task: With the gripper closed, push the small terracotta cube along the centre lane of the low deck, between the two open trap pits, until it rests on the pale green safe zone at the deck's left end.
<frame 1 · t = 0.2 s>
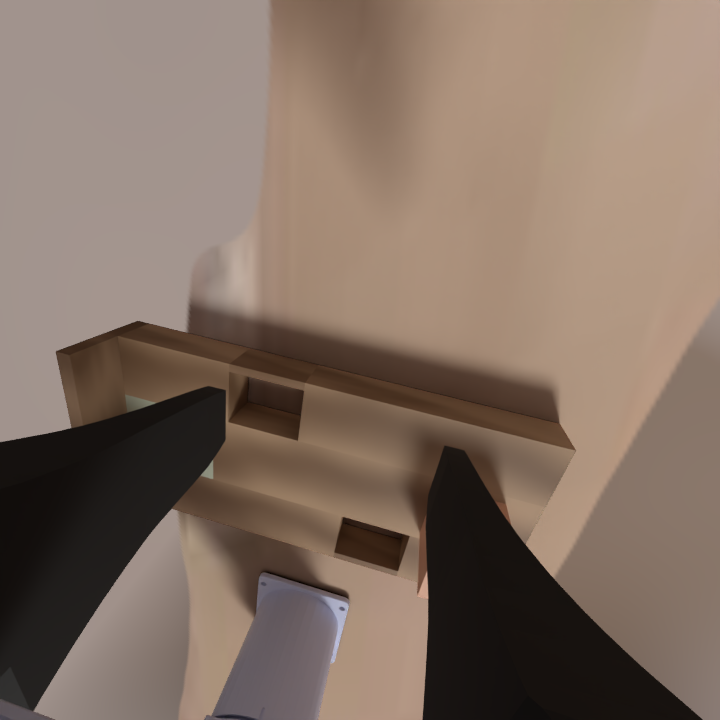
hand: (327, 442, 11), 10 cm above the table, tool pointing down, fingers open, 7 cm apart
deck: (327, 453, 24), on the table
block: (460, 519, 21), point 2 cm above the table, touching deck
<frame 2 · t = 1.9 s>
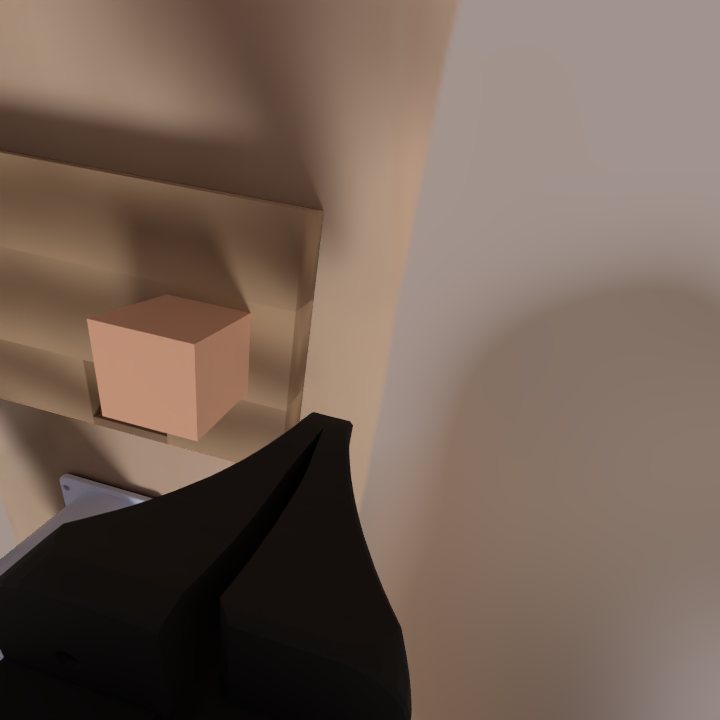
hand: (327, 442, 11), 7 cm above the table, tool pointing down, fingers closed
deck: (84, 294, 19), on the table
block: (208, 345, 16), point 2 cm above the table, touching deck
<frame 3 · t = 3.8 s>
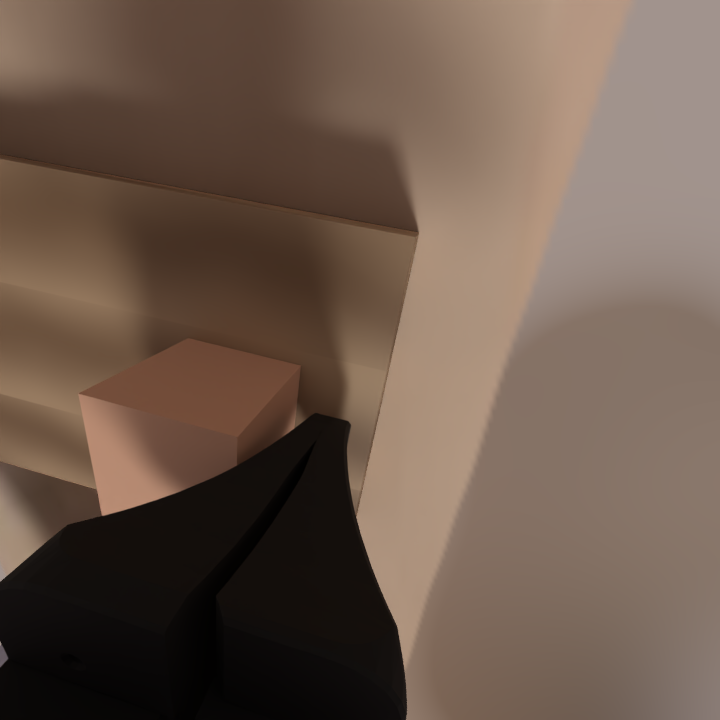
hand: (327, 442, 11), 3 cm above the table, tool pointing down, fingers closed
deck: (96, 331, 16), on the table
block: (242, 402, 12), point 3 cm above the table, touching gripper
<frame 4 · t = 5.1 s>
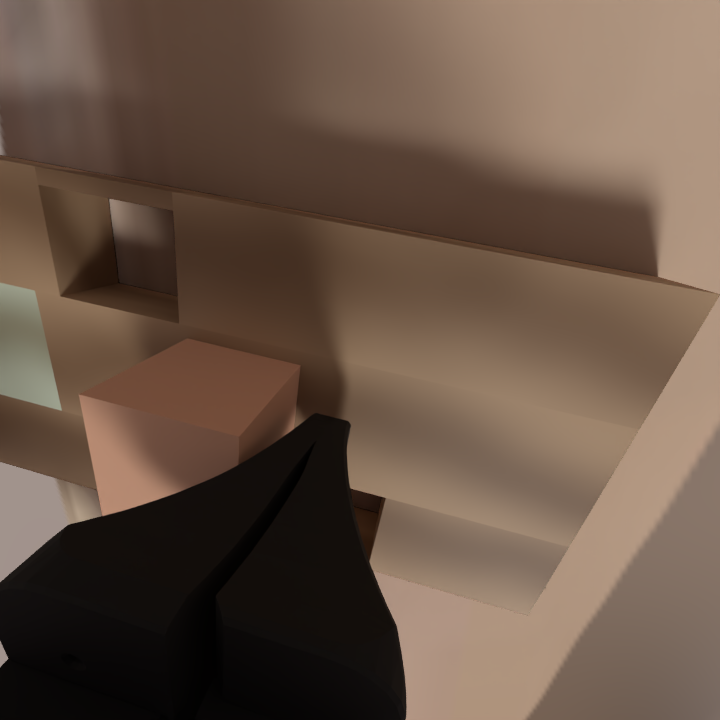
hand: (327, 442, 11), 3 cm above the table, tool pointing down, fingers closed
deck: (253, 370, 15), on the table
block: (241, 402, 12), point 3 cm above the table, touching gripper
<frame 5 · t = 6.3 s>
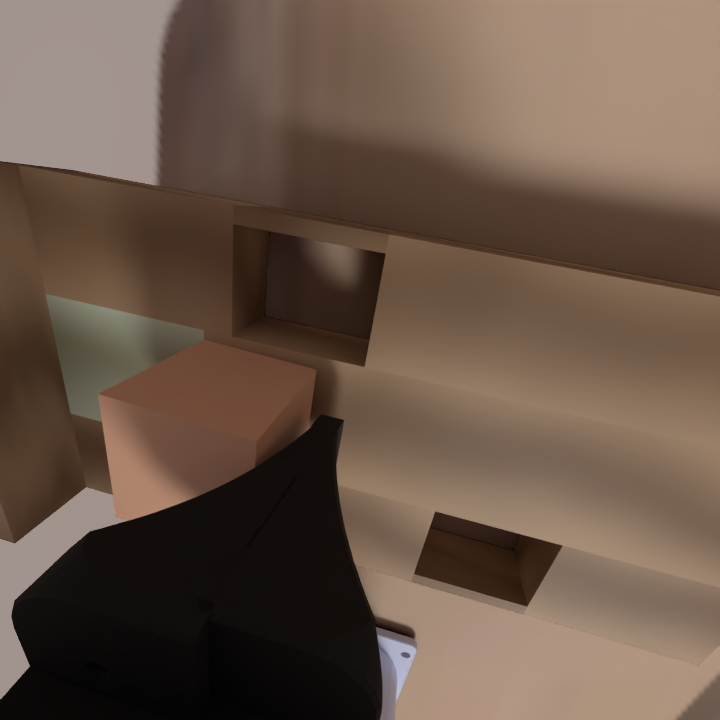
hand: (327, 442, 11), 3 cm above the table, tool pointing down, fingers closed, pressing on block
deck: (400, 405, 14), on the table
block: (255, 405, 12), point 3 cm above the table, touching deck, gripper
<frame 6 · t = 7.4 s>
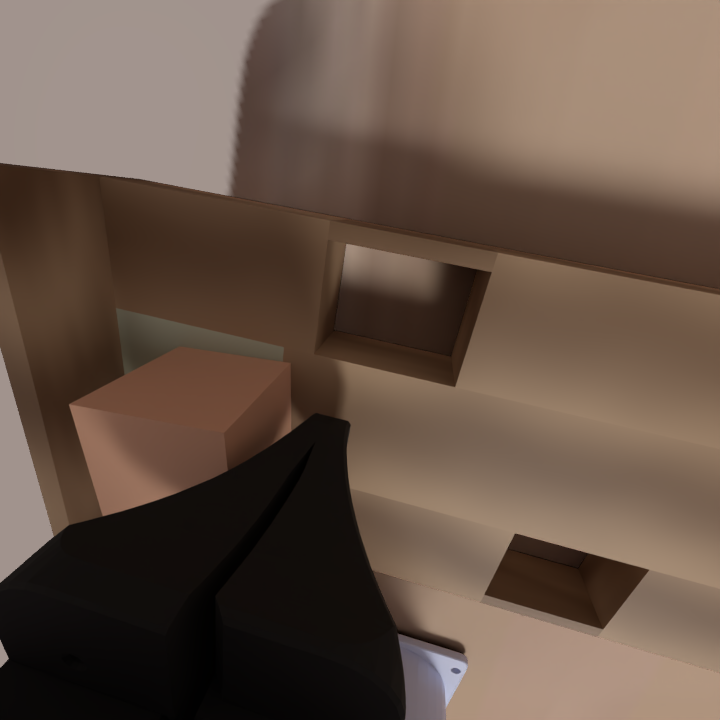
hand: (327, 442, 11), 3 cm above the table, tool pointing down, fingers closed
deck: (471, 422, 14), on the table
block: (237, 406, 12), point 3 cm above the table, touching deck, gripper
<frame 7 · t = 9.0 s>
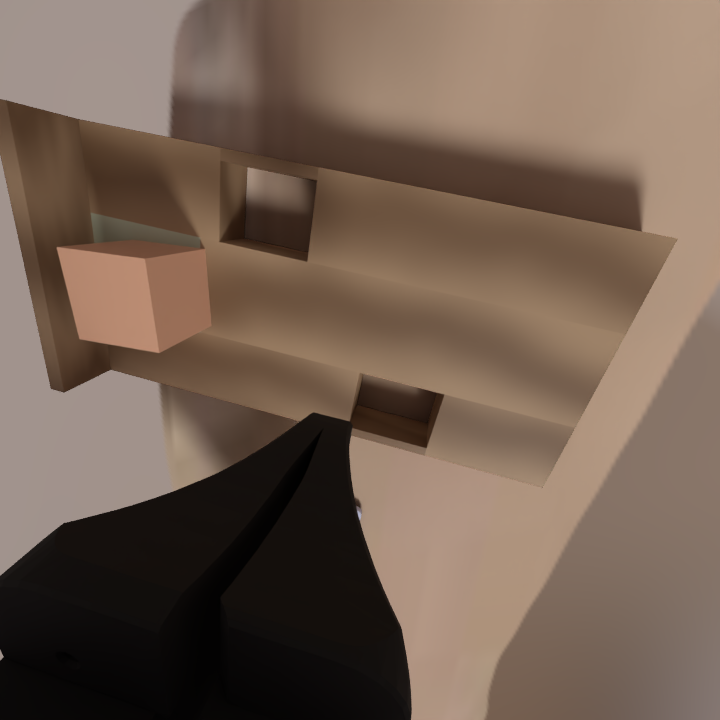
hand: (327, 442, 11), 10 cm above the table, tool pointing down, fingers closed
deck: (341, 306, 20), on the table
block: (173, 284, 18), point 2 cm above the table, touching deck
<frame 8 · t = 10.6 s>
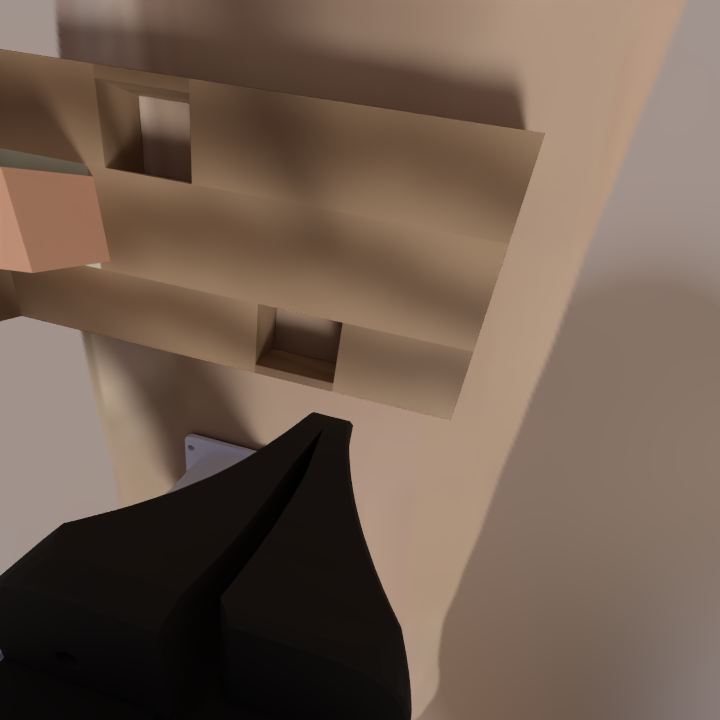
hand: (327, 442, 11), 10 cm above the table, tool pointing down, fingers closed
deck: (246, 242, 19), on the table
block: (68, 217, 18), point 2 cm above the table, touching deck
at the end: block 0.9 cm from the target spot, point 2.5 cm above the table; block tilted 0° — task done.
